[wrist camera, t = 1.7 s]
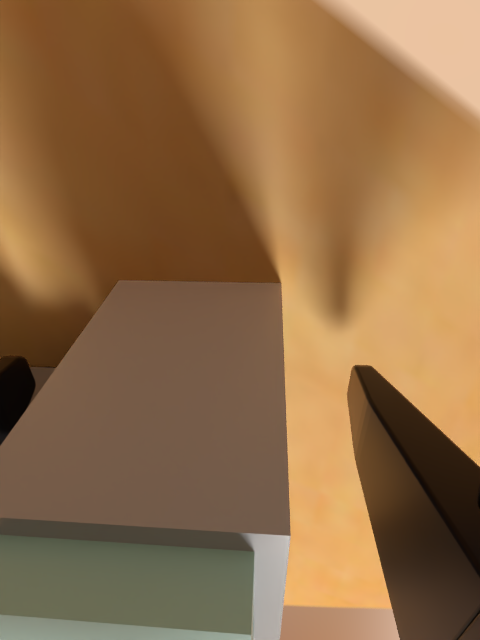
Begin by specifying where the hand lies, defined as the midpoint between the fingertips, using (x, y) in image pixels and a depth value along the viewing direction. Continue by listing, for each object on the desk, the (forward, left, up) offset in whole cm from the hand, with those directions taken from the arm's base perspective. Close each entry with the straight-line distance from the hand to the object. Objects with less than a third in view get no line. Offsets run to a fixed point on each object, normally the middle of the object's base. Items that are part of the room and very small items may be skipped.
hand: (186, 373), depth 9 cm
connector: (0, 0, -1) cm, 1 cm away
